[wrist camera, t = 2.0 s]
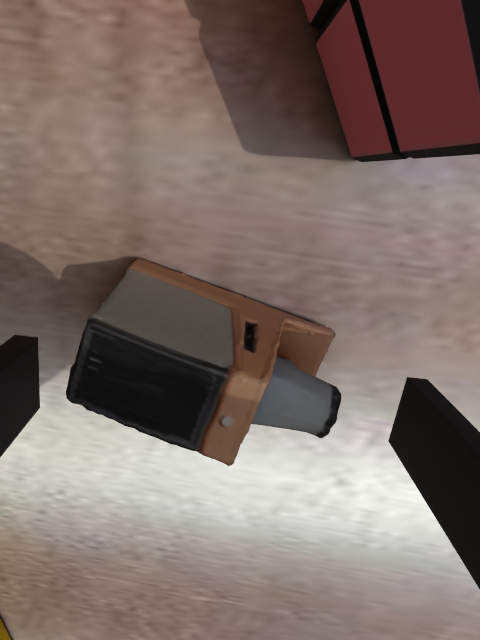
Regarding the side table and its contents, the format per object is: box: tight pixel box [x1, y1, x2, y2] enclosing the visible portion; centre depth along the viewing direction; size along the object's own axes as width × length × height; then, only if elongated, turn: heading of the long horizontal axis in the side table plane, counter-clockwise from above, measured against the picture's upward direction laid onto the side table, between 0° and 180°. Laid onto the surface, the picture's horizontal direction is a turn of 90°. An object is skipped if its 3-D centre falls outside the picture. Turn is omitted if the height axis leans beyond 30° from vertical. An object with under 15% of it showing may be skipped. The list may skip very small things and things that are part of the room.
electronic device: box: [66, 259, 341, 466], centre depth 16 cm, size 4×10×8 cm, turn 70°
